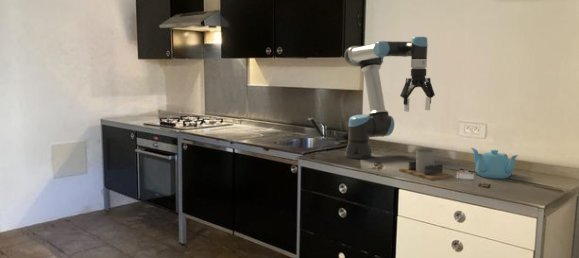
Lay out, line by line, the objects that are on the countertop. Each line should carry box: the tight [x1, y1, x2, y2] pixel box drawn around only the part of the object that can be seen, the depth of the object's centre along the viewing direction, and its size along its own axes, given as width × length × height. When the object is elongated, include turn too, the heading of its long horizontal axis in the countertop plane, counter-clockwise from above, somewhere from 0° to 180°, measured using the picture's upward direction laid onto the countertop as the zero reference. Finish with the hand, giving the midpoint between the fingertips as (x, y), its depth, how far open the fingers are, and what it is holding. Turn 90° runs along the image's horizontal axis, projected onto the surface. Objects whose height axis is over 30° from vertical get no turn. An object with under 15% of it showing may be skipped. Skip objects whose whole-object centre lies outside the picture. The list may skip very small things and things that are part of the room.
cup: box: [415, 148, 436, 173], centre depth 233 cm, size 8×8×10 cm
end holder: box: [398, 160, 454, 181], centre depth 233 cm, size 22×14×5 cm, turn 27°
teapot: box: [470, 147, 519, 180], centre depth 230 cm, size 17×19×12 cm
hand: (417, 110), depth 246 cm, fingers open, 13 cm apart
